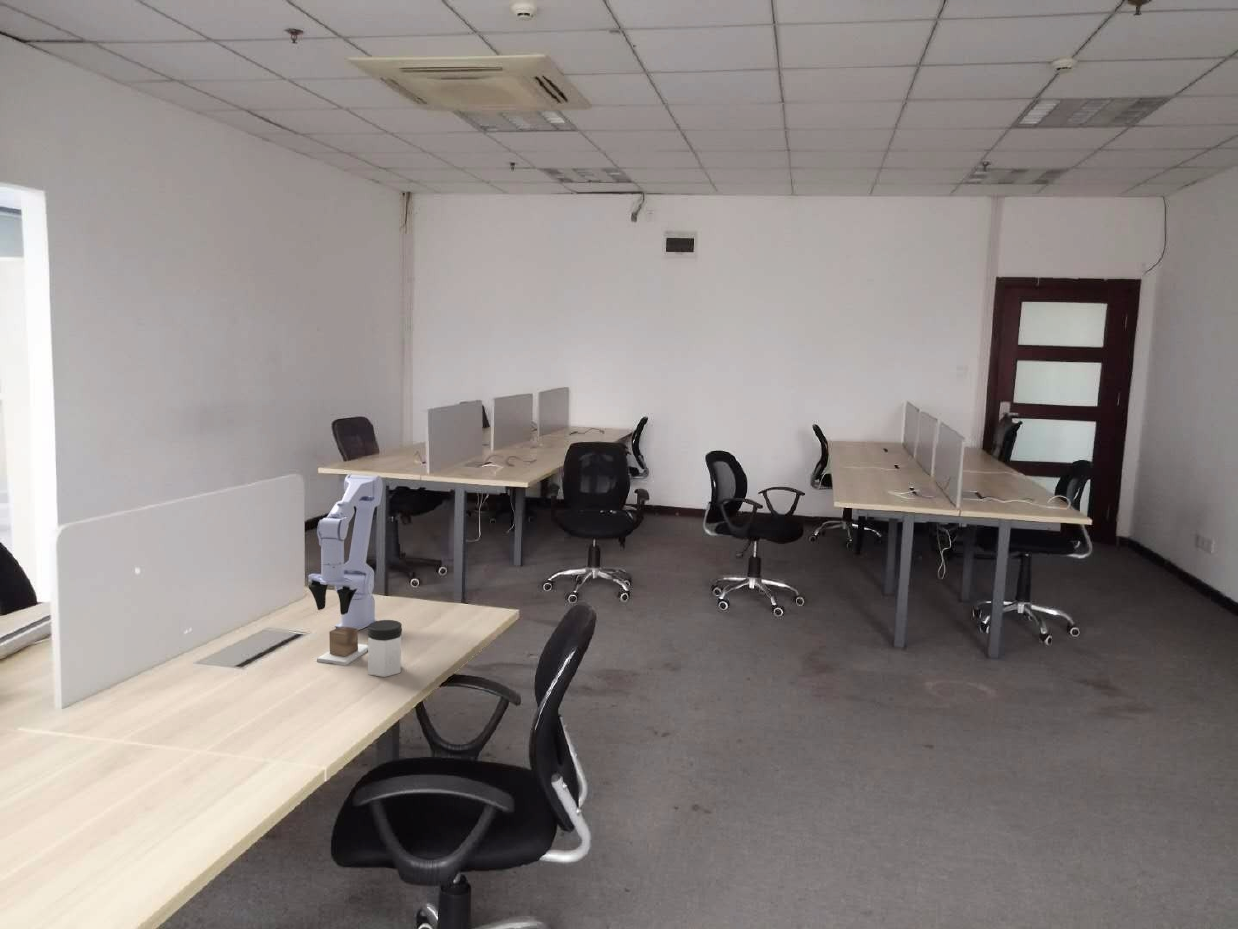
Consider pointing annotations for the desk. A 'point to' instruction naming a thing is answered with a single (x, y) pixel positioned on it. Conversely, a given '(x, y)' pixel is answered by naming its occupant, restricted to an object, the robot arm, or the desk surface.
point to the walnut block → (343, 641)
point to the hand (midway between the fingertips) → (332, 611)
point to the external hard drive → (341, 659)
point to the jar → (384, 648)
